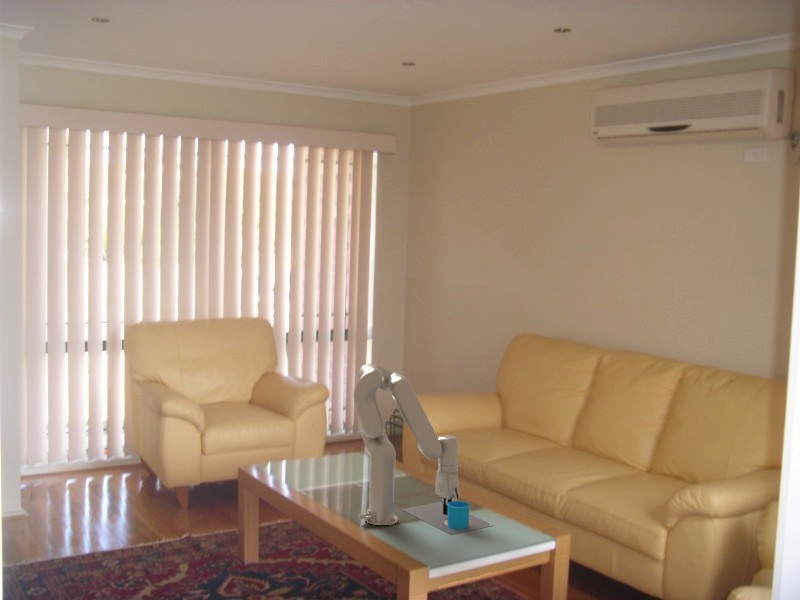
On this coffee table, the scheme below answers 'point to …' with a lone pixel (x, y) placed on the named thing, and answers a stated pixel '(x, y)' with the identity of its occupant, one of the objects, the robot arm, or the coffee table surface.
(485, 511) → the coffee table surface
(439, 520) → the mat
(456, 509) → the mug
